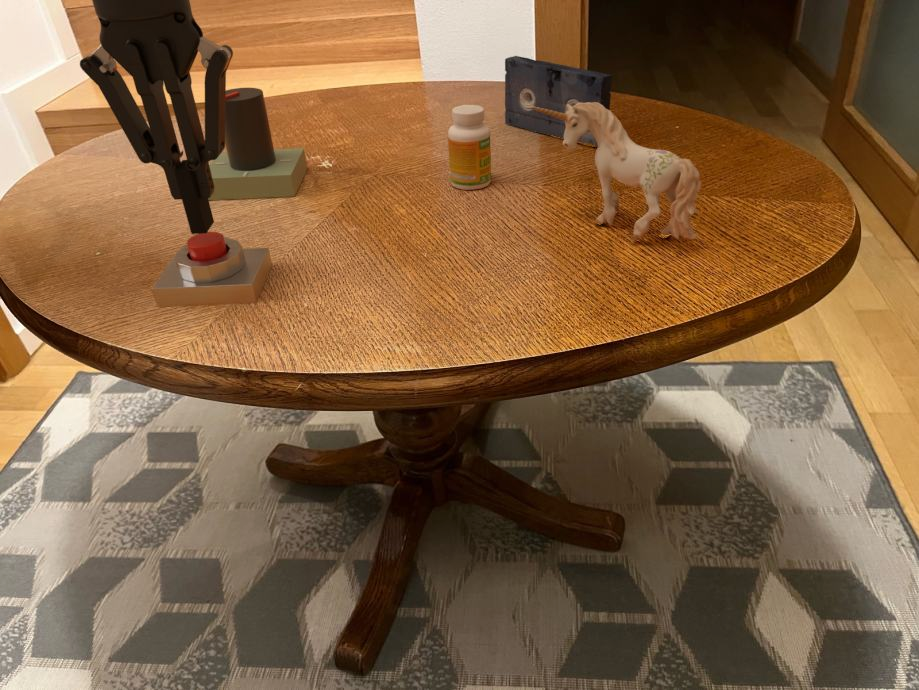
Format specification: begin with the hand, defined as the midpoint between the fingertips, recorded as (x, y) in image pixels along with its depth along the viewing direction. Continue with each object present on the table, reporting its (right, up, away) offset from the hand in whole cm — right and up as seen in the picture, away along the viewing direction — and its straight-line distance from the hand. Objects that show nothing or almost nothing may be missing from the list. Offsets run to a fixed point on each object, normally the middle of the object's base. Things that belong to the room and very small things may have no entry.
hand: (202, 227), depth 73 cm
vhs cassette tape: (+40, +20, +39) cm, 59 cm away
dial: (-2, +13, +25) cm, 28 cm away
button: (0, -3, +2) cm, 3 cm away
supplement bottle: (+27, +10, +24) cm, 37 cm away
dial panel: (-2, +10, +27) cm, 29 cm away
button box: (0, -5, +4) cm, 7 cm away
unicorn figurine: (+42, +1, +10) cm, 43 cm away
